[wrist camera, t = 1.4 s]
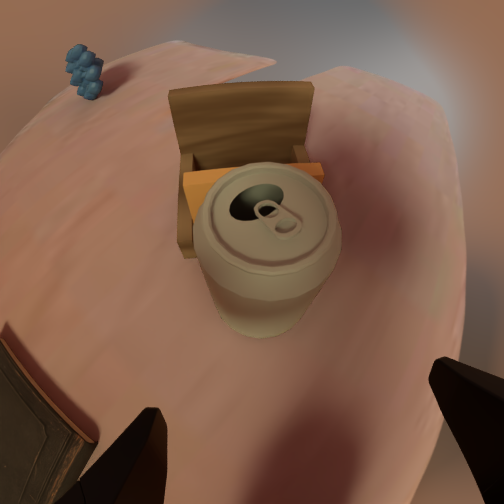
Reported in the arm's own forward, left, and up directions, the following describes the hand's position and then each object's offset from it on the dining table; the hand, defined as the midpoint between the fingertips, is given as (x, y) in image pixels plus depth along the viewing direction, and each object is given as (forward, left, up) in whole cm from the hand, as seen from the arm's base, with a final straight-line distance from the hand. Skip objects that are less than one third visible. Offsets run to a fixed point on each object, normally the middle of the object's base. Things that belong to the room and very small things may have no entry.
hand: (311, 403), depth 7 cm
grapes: (+46, +24, -14) cm, 54 cm away
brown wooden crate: (+17, 0, -13) cm, 22 cm away
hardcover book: (-9, +28, -14) cm, 33 cm away
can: (+8, 0, -14) cm, 16 cm away
